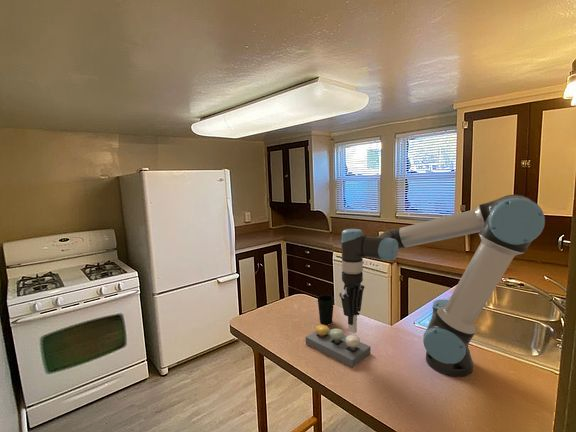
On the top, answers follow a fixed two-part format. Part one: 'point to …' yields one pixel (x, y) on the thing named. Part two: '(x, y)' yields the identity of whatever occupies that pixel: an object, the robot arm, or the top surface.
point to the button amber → (322, 330)
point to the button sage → (336, 335)
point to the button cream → (352, 342)
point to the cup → (325, 309)
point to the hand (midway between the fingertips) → (352, 331)
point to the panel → (338, 349)
